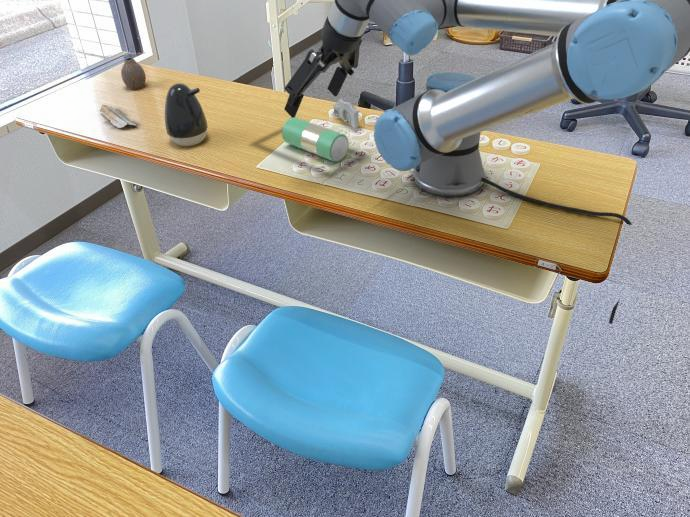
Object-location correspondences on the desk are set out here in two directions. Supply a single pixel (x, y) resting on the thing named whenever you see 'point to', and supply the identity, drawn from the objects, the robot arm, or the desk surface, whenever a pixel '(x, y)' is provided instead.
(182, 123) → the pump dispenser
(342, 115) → the garden wall model
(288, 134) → the can
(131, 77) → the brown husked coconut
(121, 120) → the fossil
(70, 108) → the desk surface
